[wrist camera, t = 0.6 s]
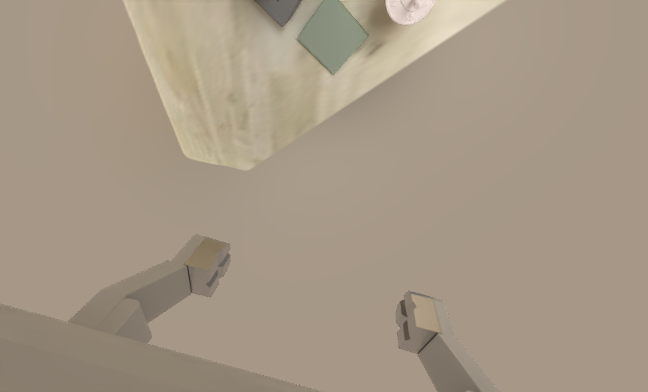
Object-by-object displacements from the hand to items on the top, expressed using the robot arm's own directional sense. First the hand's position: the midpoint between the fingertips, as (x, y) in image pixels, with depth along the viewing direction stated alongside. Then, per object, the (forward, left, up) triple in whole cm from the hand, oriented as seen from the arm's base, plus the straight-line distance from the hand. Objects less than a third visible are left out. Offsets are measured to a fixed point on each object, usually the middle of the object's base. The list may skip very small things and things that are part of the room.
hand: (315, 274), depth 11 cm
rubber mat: (+7, -2, -46) cm, 47 cm away
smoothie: (-6, +1, -46) cm, 47 cm away
